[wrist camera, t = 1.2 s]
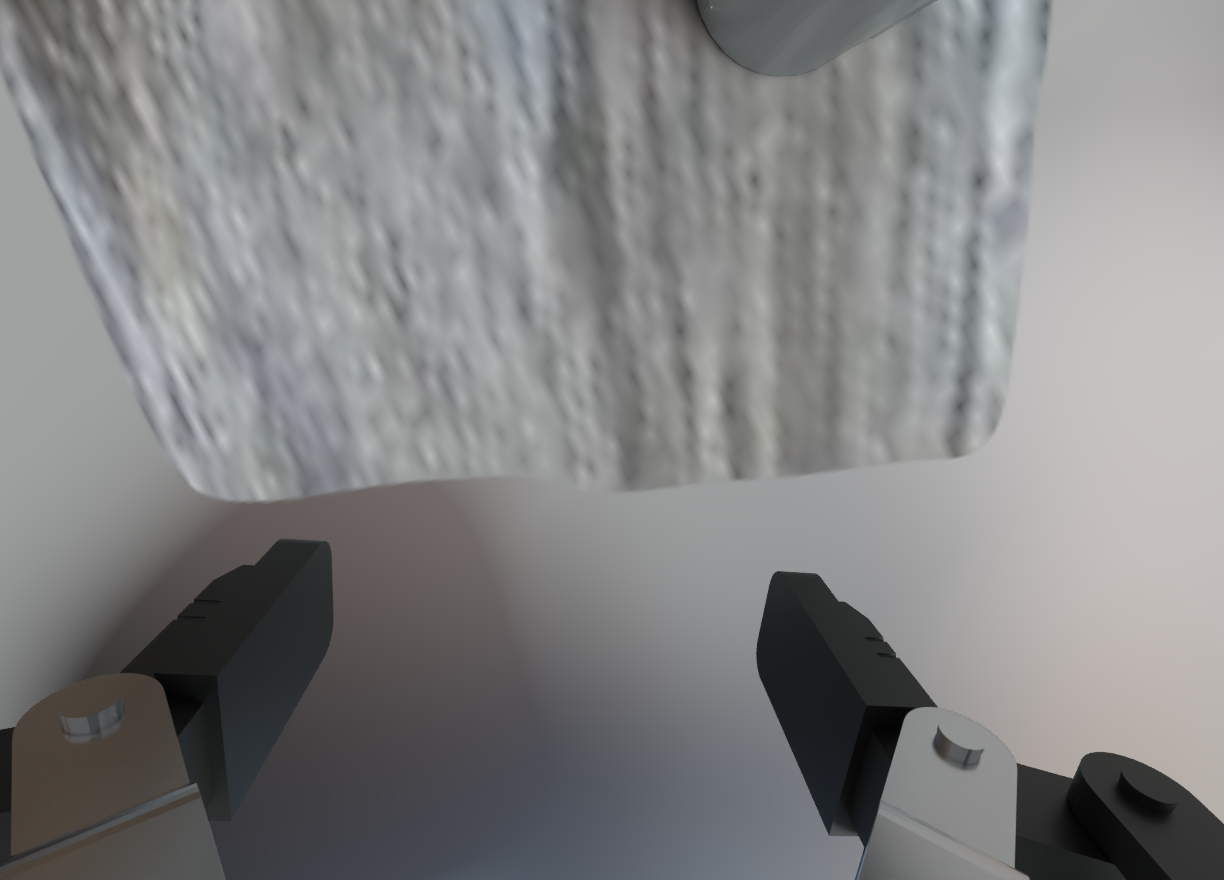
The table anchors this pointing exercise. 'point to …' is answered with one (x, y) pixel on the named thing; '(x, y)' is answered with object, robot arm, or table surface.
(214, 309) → the table surface
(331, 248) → the table surface
